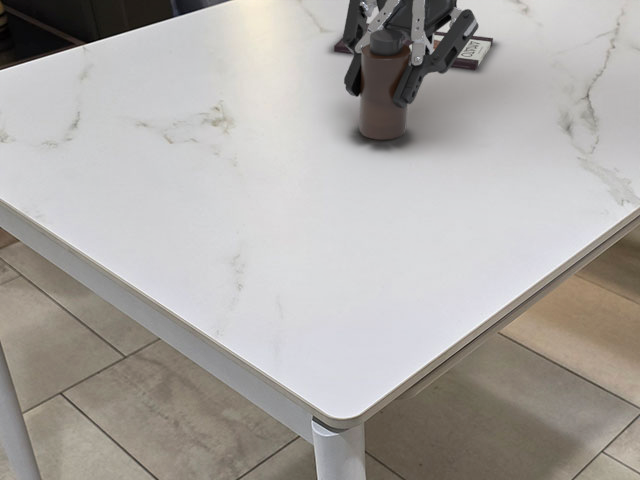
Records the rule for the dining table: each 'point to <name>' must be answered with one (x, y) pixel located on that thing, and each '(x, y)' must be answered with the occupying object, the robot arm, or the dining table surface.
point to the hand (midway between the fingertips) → (374, 98)
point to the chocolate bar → (465, 60)
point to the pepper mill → (382, 85)
